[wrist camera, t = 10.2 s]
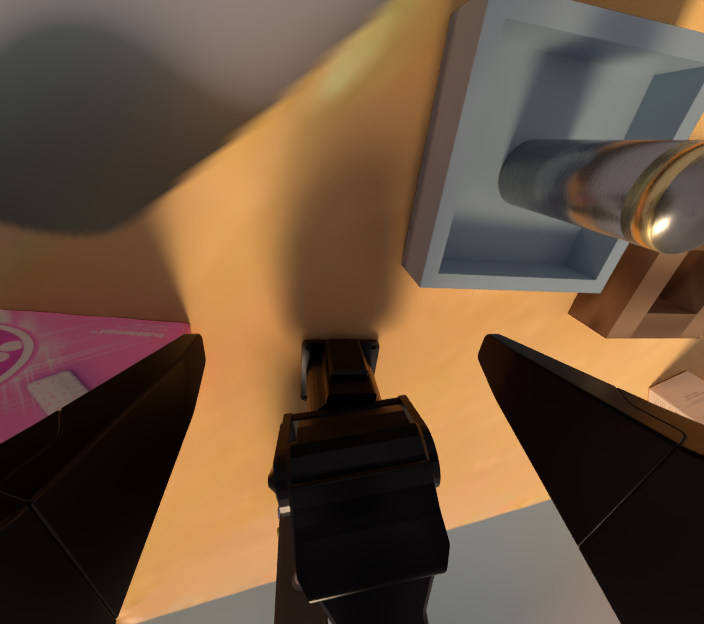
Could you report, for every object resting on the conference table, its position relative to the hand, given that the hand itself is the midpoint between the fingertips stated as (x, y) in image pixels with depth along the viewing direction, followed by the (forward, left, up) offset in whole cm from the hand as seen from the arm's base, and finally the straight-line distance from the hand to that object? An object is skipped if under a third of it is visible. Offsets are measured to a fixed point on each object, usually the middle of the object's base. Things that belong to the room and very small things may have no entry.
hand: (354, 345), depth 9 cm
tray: (+5, -13, -13) cm, 19 cm away
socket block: (-1, -28, -13) cm, 31 cm away
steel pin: (+5, -13, -12) cm, 18 cm away
